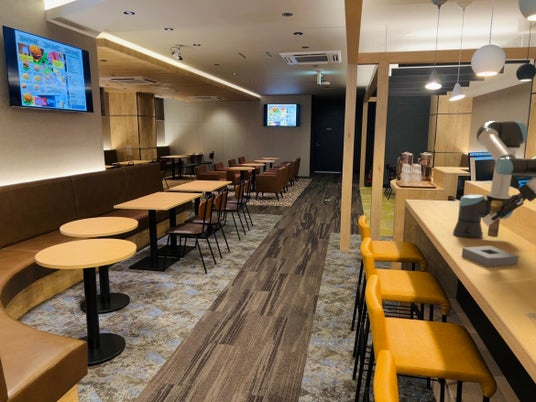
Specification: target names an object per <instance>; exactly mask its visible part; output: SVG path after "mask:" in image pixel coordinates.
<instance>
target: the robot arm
mask: <svg viewBox="0 0 536 402" xmlns="http://www.w3.org/2000/svg"><path fill="white" fill-rule="evenodd" d="M528 136H529V135H528V127H527V126H526V124H525V123H524V122H523V121H519V120H518V121H517V120H516V121H515V120H489V121H488V122H485V123H483V124H482V125H480V127H479V128H478V129H477V131H476V140H477V142H478V144H479V145H481V146H482V147H484V148H485V149H486V150H487V152H488V153H489V154H490V155H491V157H492V158H493V160H494V161H495V163H494V164H495V165H494V168H493V169H494V171H493V177H492V180H491V181H492V183H491V188H490V191H489V192H488V193H486V197H485V196H484V195H482V194H466V195H462V196H461V197H460V199H459V206H458V207H459V208H458V216H457V222H456V224H455V227H454V229H453V232H452V234H453V235H454V236H456V237H459V238H464V239H472V240H473V239H476V240H477V239H482V238H483V235H484V233H483V229H482V224H481V221H482V222H483V223H484V224H485V225H486V226H487V227H489V225H490V224H492V223H493V222H495V221H496V220H497V219H499V218H500V220H506V219H508V218H510V217H511V215H512V214H513V213H514V211H515V210H516V209H518V208H519V207H521V206H523V205H524V204H525V203H524V202H525V201H526V200H528V202H532V201H534V200H535V199H536V156H534V157H531V158H520V157H519V158H517V157H516V154H517V150H520V148H521V146H522V145H523V144H525V143H526V141H527V139H528ZM512 176H534V177H531V178H530V179H529V180H528V181H526V183H525V184H522V185H521V186H518V188H517V190H518V192H519V193H517V194H513V195H510V193H509V191H510V188H511V187H510V186H511V182H512ZM492 201H501V202H502V206H501V210H500V211H498V212H497V211H496V213H494V214H493V215H492V216H490V211H491V203H492Z"/></svg>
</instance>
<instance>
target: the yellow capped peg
mask: <svg viewBox="0 0 536 402" xmlns="http://www.w3.org/2000/svg"><path fill="white" fill-rule="evenodd" d="M501 206H502V202H501V201H492V203H491V211H490V216H492V215H493V214H494V213H496V211H497V212H498V211H500V210H501ZM500 221H501V219H500V218H499V219H497V220H496V221H495V222H493V223H492V224H490V225H489V226H488V231H487V236H488V237H491V238H498V236H499V229H500Z"/></svg>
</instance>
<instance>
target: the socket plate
mask: <svg viewBox="0 0 536 402" xmlns="http://www.w3.org/2000/svg"><path fill="white" fill-rule="evenodd" d="M461 256H462V257H463V258H466V259H468V260H471V261H473V262H474V263H475V262H476V263H477V264H480V265H482V266H484V267H487V268H497V267H507V266H515V265H518V264H519V257H520V256H519V255H517V254H515V253H514V254H513V253H512V252H509V251H506V250H503V249H500V248H498V247H496V246H495V247H494V246H492V245H482V246H481V245H480V246H470V247H462V251H461Z"/></svg>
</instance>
